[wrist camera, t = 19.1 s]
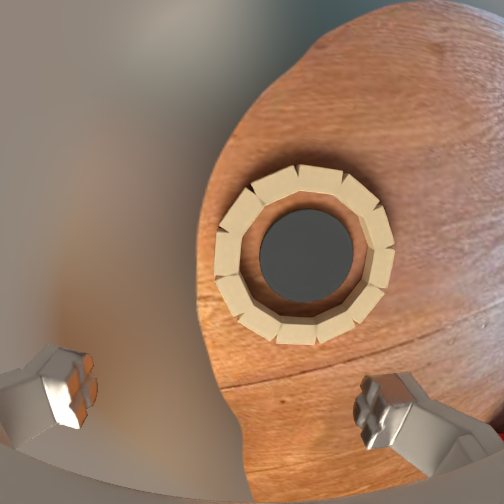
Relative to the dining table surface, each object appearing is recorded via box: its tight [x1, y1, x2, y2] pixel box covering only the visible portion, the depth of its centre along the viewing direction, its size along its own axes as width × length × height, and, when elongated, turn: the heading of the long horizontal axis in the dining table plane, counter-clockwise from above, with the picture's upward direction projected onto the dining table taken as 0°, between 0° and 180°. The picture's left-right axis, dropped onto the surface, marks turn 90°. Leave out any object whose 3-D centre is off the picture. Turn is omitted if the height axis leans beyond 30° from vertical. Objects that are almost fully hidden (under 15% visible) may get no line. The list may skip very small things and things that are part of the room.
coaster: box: [259, 209, 353, 302], centre depth 26 cm, size 8×8×1 cm
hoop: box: [213, 164, 395, 345], centre depth 26 cm, size 15×15×2 cm
